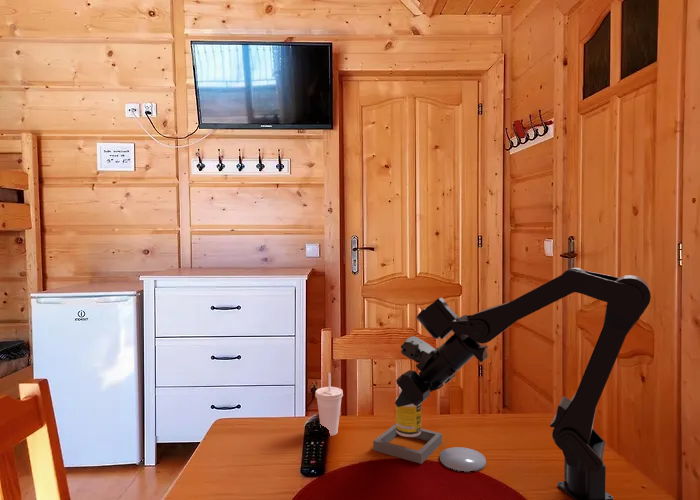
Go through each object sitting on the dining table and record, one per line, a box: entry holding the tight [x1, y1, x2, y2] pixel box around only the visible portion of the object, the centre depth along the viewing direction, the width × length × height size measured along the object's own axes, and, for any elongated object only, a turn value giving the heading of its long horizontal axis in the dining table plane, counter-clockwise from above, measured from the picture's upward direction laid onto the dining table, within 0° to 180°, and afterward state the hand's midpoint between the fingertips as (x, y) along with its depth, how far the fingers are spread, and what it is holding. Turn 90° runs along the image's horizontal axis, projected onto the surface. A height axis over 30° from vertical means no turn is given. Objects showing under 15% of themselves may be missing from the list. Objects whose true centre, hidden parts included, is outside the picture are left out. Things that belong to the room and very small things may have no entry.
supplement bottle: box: [395, 386, 422, 438], centre depth 99 cm, size 5×5×10 cm
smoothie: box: [314, 372, 344, 437], centre depth 106 cm, size 6×6×14 cm
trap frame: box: [372, 423, 443, 465], centre depth 99 cm, size 11×11×2 cm
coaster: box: [439, 446, 487, 473], centre depth 93 cm, size 9×9×1 cm
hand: (402, 400), depth 99 cm, fingers closed on supplement bottle, 5 cm apart
